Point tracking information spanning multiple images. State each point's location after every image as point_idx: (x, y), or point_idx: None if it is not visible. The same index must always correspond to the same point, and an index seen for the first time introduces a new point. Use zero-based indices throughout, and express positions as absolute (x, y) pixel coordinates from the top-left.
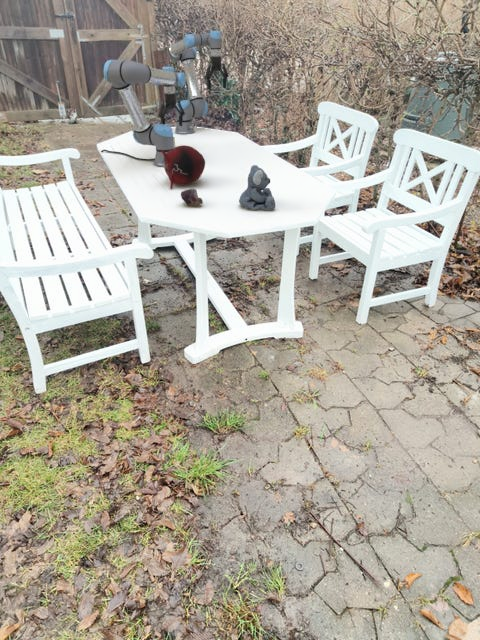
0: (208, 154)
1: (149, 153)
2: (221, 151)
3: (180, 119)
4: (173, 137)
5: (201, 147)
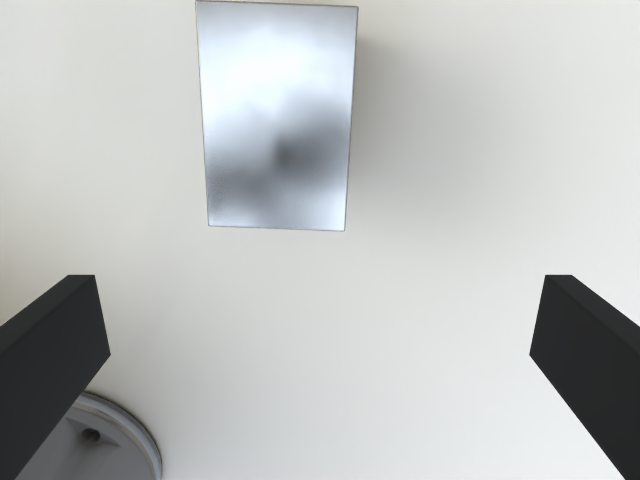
0: (480, 456)
1: (45, 80)
2: None
3: (629, 455)
4: (325, 230)
5: (631, 241)
